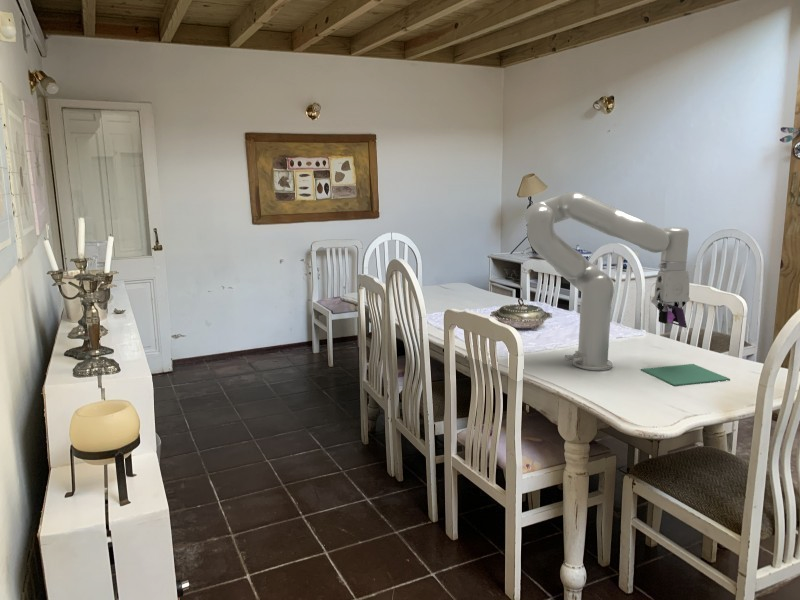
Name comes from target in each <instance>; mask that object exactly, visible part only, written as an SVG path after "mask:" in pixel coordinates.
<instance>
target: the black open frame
mask: <svg viewBox="0 0 800 600" xmlns="http://www.w3.org/2000/svg"><path fill="white" fill-rule="evenodd" d="M663 304H664V303H663ZM674 308H675V311H676V315H677V320H678V322H674V321H673V319H674V318H675V317H674V314H673V313H672V310H674ZM669 309H670V310H671V311H670V310H669ZM666 311H667V312H668V315H667V323H666V327H668V326H669V324H673V325H676V326H678V327H682V328H685V329H687V328H688V325H687V322H686V317H685V311H684V309H683V308H679V307H676V306H673V305H672V304H669V303H668V305H667V309H666Z"/></svg>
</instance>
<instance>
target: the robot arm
mask: <svg viewBox="0 0 800 600" xmlns="http://www.w3.org/2000/svg"><path fill="white" fill-rule="evenodd" d="M524 219H525V223H526V224H527V227H526V233H527V239H528V242H529V243H528V244H530V247H531V248H532V250H534V252H536V253H537V254H538V255H539V256H540V257H541V258H542V259H543V260H544V261H545V262H547V263H548V264H549V265H550V266H552V267H553V269H554V270H555V271H556V273H557V274H559V275H560V276H562V277H563V278H564V279H565V280H566V281H567V282H568V283H569V284H571V285H572V286H574V288H576V289H577V290H578V291H580V293H582V296H581V302H580V311H579V327H578V328H579V331H578V347H577V349H578V350H575V351H574V353H572V354H565V355H564V360H565V362H567V361H569V362H570V361H572V365H573V366H575V367H576V368H579V369H582V370H587V371H606V370H611V368H613V362H612V361H611V360H609V347H610V328H611V316H612V315H611V313H612V306H613V305H612V304H613V299H614V293H615V286H614V281H613V279H612V278H611V277H610V276H609V275H608V274H607V273H606V272H604V271H603V270H600V269H599V268H598V267H596V266H595V265H594V264H593V263H591V261H589V260H588V259H587V258H586V257H584V255H583V254H582V253H581V252H580V251H578V250H577V249H574V248H573V247H572V246H571V245H569V244H568V243H567V242H566V241H565V240H563V238H561V237H560V236H559V234H557V233H556V232H555V231H556V230H555V229H554V228H555V227H554V224H557V223H560V222H563V221H566V220H568V219H571V220H573V221H576V222H579V223H581V224H582V225H586V226H587V227H590V228H592V229H594V230H595V231H598V232H600V233H602V234H606V235H608V236H610V237H614V238H618V239H621V240H623V241H625V242H628V243H630V244H632V245H635V246H638V247H639V248H640V249H641V250H645V251H648V252H650V253H654V254H657V253H660V263H658V268H659V270H658V272H657V275H656V280H655V285H654V296H653V297H652V299H651V300H650V302H651V304H653V305H654V306H655V308H657V310H658V323H661V324H666V325H667V315H668V312H667V310H666V309H667V305H668V304H669V303H671V304H672V303H673V305H672V306H676V307H679V308H683V307H685V305H686V304H687V303H688V302H690V300H691V298H690V277H689V271H688V270H687V263H688V262H687V261H688V260H687V259H688V246H689V236H690V233H689V229H687V228H686V227H679V226H678V227H677V226H676V227H675V226H673V227H672V226H671V227H669V226H668V227H666V228H665V227H658V226H655V225H653V224H651V223H648V222H647V221H644V220H641V219H640V218H638V217H635V216H633V215H630V214H629V213H627V212H625V211H623V210H621V209H618V208H616V207H614V206H612V205H609V204H607V203H605V202H602V201H601V200H598V199H596V198H593V197H591V196H589V195H587V194H585V193H582V192H579V191H569V192H566V193H561V194H560V195H557V196H553V197H551V198H547V199H544V200H541V201H539V202H535V203H532V204H531V205H530V206H529V207H527V209H526V210H525V213H524ZM663 303H664V304H663ZM671 312H672V313H673V314H674V317H675V318H674V319H673V323H678V320H677V315H676V311H675V308H674V310H672V309H671Z"/></svg>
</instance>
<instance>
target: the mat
mask: <svg viewBox="0 0 800 600" xmlns="http://www.w3.org/2000/svg"><path fill="white" fill-rule="evenodd" d="M640 371H641V372H643V373H645V374H648V375H650V376H652V377H654V378H655V379H658V380H660V381H662V382H663V383H664V382H665V383H667V384H669V385H670V386H673V387H682V386H690V385H691V386H692V385H701V384H710V382H711V383H719V382H718V381H720V382H727V381H726V380H729V381H731V378H729V377H727V376H724V375H722V374H719V373H717V372H714V371H711V370H709V369H707V368H705V367H702V366H700V365H697V364H695V363H688V364H679V365H678V364H675V365H667V366H657V367H647V368H646V367H645V368H640ZM700 383H701V384H700Z"/></svg>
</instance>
